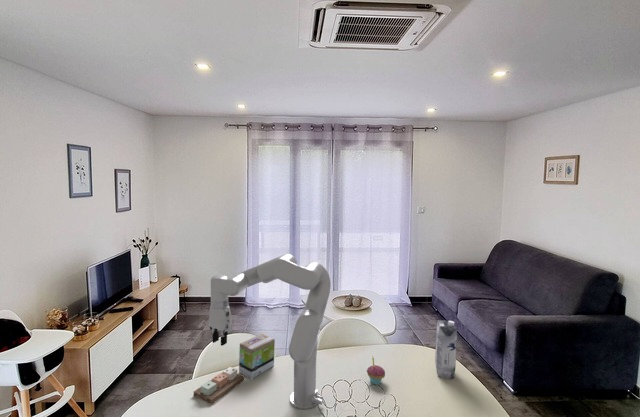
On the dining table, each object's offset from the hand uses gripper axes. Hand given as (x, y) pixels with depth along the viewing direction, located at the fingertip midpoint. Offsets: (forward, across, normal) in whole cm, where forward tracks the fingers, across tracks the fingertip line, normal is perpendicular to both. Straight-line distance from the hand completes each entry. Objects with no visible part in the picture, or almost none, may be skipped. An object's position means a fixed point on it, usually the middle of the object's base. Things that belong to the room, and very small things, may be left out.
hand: (219, 342), depth 150 cm
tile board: (+21, 0, 0) cm, 21 cm away
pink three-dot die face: (+19, 0, 0) cm, 19 cm away
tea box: (+22, -4, -20) cm, 30 cm away
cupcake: (+22, -60, -42) cm, 76 cm away
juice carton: (+22, -87, -66) cm, 111 cm away
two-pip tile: (+19, 0, -7) cm, 20 cm away
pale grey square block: (+19, 0, +6) cm, 20 cm away
